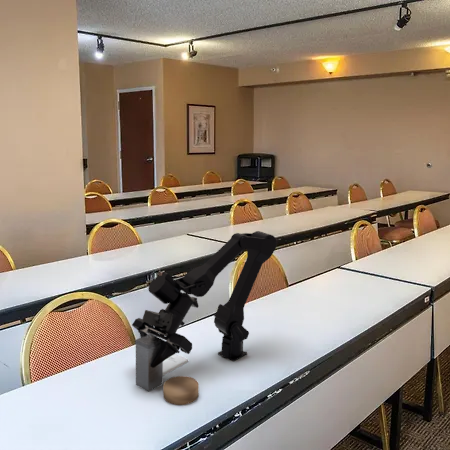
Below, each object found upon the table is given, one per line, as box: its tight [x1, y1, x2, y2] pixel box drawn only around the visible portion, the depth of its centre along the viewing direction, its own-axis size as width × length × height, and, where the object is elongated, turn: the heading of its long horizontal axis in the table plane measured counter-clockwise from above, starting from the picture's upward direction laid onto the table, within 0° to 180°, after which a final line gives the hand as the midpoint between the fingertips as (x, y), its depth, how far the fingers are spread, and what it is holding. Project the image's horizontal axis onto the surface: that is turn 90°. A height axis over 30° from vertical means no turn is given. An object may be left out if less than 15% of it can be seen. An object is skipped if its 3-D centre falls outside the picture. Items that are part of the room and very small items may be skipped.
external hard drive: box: [163, 353, 189, 377], centre depth 147 cm, size 2×8×12 cm
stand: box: [162, 375, 200, 406], centre depth 131 cm, size 9×9×3 cm
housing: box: [135, 334, 164, 392], centre depth 134 cm, size 5×5×13 cm
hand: (144, 363), depth 133 cm, fingers closed on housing, 5 cm apart
